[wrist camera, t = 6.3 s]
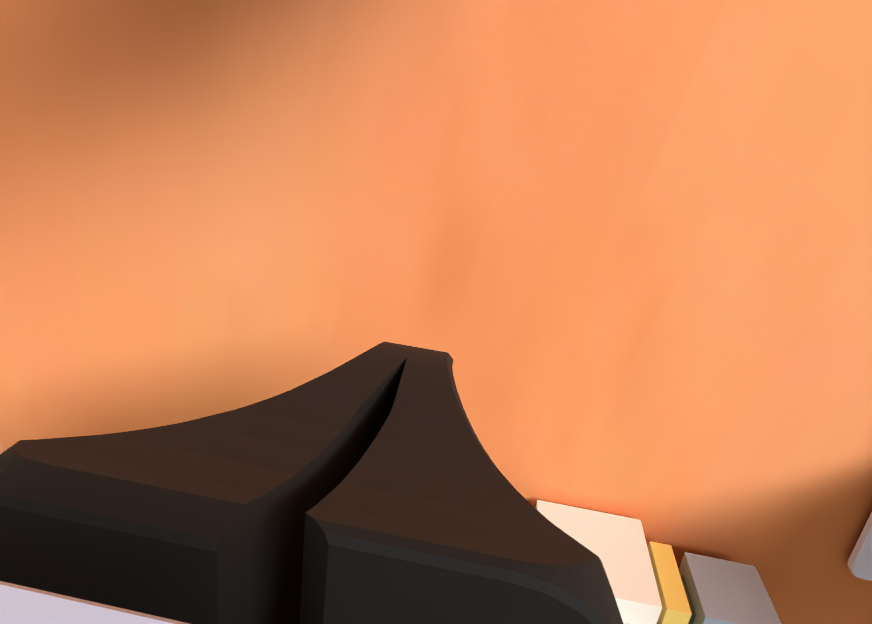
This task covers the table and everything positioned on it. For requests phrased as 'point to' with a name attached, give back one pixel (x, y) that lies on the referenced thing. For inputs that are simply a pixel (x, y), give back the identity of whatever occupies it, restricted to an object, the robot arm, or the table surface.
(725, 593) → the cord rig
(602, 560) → the sleeve
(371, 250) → the table surface
